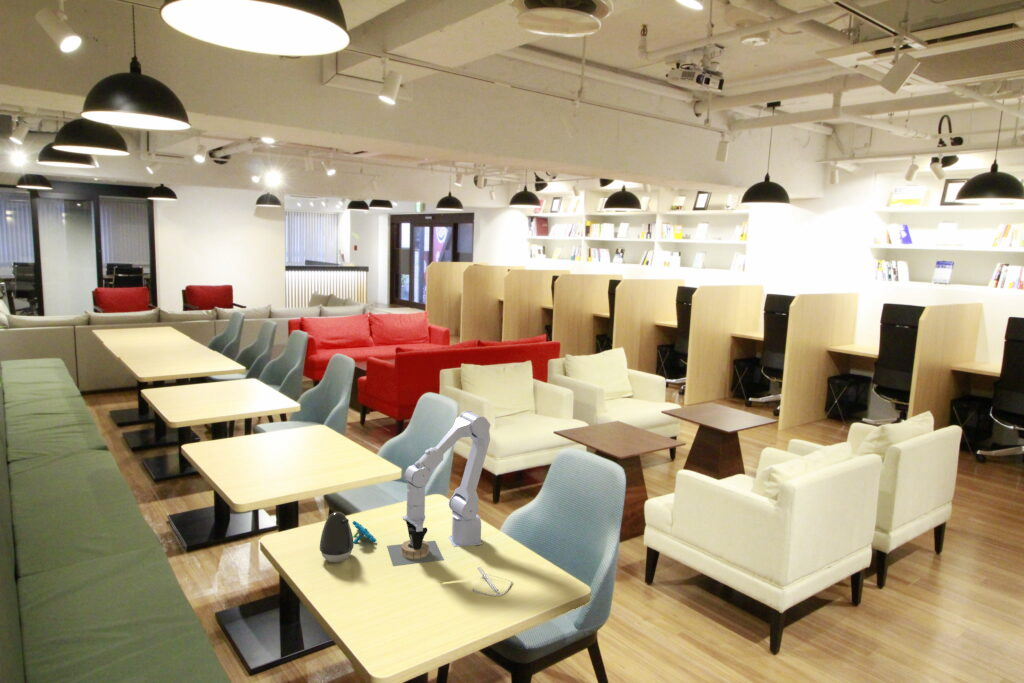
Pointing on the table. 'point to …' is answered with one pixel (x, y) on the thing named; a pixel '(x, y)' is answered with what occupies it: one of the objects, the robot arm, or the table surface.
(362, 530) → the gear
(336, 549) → the pump dispenser
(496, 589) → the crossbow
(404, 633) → the table surface
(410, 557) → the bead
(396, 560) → the mat
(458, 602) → the table surface
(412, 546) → the peg
